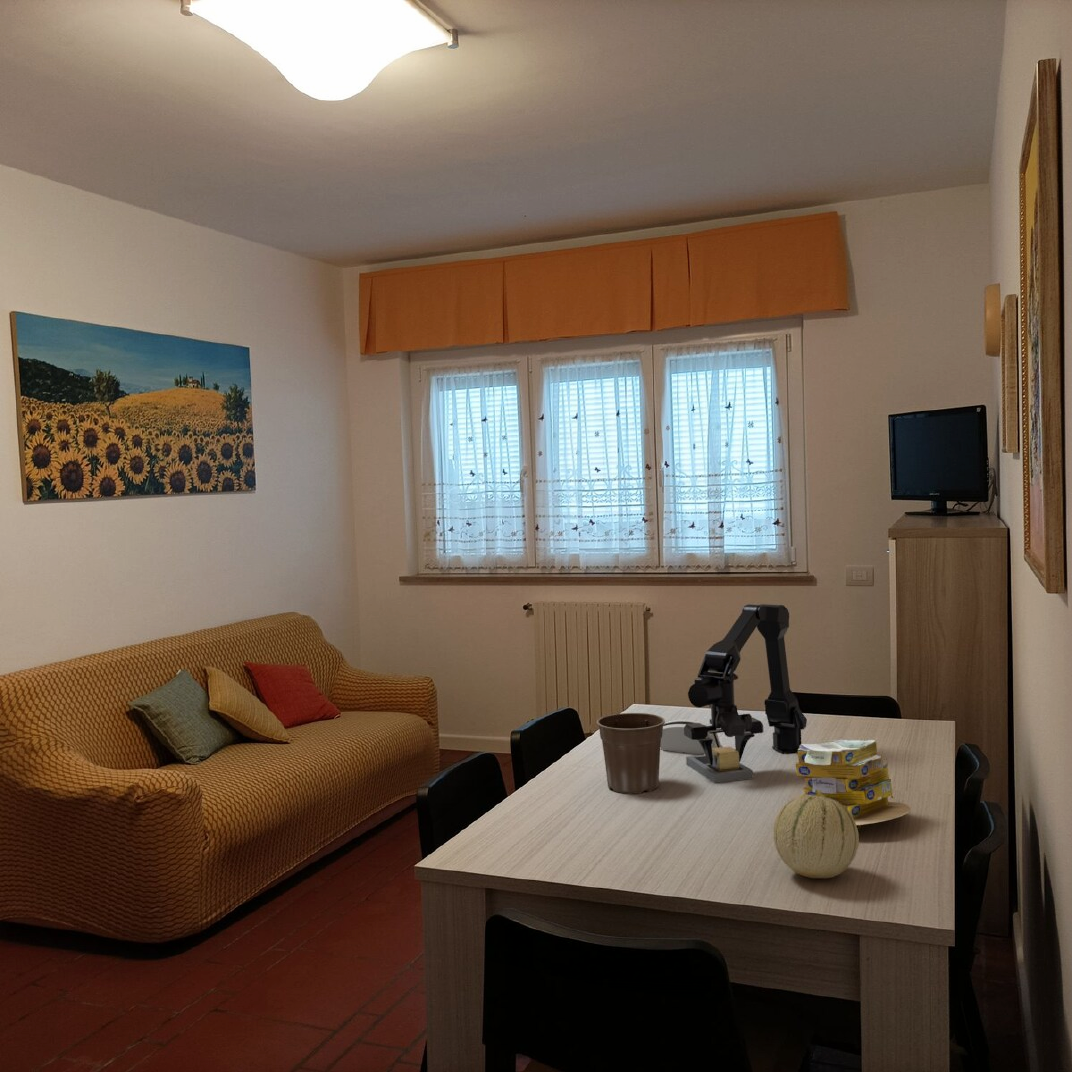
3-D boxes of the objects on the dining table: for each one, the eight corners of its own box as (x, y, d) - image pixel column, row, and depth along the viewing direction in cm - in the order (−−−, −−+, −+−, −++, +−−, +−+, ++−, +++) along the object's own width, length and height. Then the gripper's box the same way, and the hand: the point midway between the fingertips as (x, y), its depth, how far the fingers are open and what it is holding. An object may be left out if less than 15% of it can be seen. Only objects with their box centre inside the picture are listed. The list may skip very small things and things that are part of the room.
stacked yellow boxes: (762, 817, 218) (759, 740, 218) (845, 796, 231) (843, 722, 230) (849, 850, 197) (847, 764, 196) (937, 824, 209) (934, 743, 208)
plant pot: (664, 797, 235) (661, 728, 235) (594, 796, 238) (592, 727, 238) (669, 777, 251) (667, 712, 250) (604, 777, 254) (601, 712, 254)
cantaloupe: (778, 890, 178) (775, 805, 178) (772, 860, 193) (769, 781, 192) (866, 892, 176) (863, 806, 175) (853, 861, 190) (851, 782, 190)
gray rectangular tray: (722, 760, 265) (722, 752, 265) (752, 778, 247) (752, 770, 247) (686, 764, 263) (686, 756, 263) (714, 782, 245) (713, 774, 245)
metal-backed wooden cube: (732, 772, 254) (731, 746, 254) (740, 777, 249) (739, 751, 249) (710, 774, 253) (709, 748, 253) (718, 779, 248) (717, 753, 248)
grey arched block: (724, 751, 274) (719, 719, 271) (719, 761, 270) (713, 728, 267) (667, 745, 282) (660, 714, 279) (660, 755, 279) (654, 724, 275)
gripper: (699, 710, 240) (701, 775, 241) (772, 702, 245) (774, 767, 245) (682, 701, 251) (684, 764, 252) (752, 694, 255) (754, 756, 256)
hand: (724, 763), depth 251 cm, fingers open, 7 cm apart
